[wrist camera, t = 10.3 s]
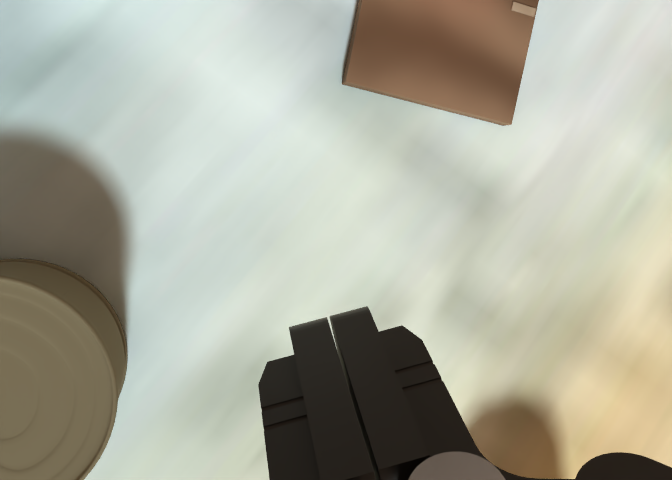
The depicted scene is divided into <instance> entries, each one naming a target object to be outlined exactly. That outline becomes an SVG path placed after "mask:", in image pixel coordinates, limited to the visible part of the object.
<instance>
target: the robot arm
mask: <svg viewBox="0 0 672 480" xmlns="http://www.w3.org/2000/svg"><path fill="white" fill-rule="evenodd" d="M330 321H331V325H332V330H333V334H334V338H335V342H334V339H333V336H332V333H331V329H330V326H329V323H328V320H327V317H326V318H322V319H318V320H314V321H310V322H307V323H303V324H299V325H295V326H292V327H289V330H290V335H291V340H292V345H293V350H294V355H291V356H288V357H284V358H280V359H276V360H273V361H269V362H267V364H266V367H265V369H264V372H263V374H262V377H261V379H260V382H259V384H258V385H259V394H260V402H261V409H262V419H263V427H264V436H265V444H266V452H267V461H268V469H269V478H270V480H672V468H671V467H669V466H666V465H664V464H662V463H659V462H657V461H654V460H652V459H649V458H646V457H644V456H641V455H636V454H632V453H622V452H621V453H608V454H603V455H600V456H597V457H595V458H593V459H591V460H589V461H588V462H587V463H586V464H584V465H583V466H582V468H581V469H580V470H579V472H578V474H577V476H576V478H575V479H535V478H526V477H521V476H517V475H514V474H511V473H508V472H506V471H504V470H502V469H499V468H498V467H496V466H495V465H493V464H492V463H491V462H489V461H488V460H487V459H486V458H485V457H484V456H483V455H482V454H481V453H480V451H479V450H478V448H477V447H476V445H475V443H474V441H473V439H472V437H471V435H470V433H469V431H468V429H467V427H466V425H465V423H464V422H463V420H462V418H461V416H460V414H459V412H458V410H457V408H456V406H455V404H454V402H453V400H452V398H451V396H450V394H449V392H448V390H447V388H446V386H445V384H444V382H442V380H441V376H440V374H439V372H438V370H437V368H436V367H435V365H434V364H433V361H432V359H431V357H430V355H429V353H428V351H427V349H426V347H425V345H424V343H423V341H422V340H421V339H420V338H419V337H417V336H416V335H414V334H413V333H412V332H410V331H409V330H408V329H406V328H405V327H404V326H399V327H395V328H391V329H387V330H384V331H380V332H378V329H377V327H376V325H375V322H374V320H373V317H372V315H371V313H370V310H369V308H368V307H367V306H366V307H363V308H359V309H355V310H351V311H348V312H344V313H340V314H336V315H332V316H330ZM335 343H336V346H335ZM336 347H337V349H336Z"/></svg>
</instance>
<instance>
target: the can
mask: <svg viewBox="0 0 672 480" xmlns="http://www.w3.org/2000/svg"><path fill="white" fill-rule="evenodd" d="M126 370H127V345H126V339H125V335H124V331H123V328H122V326H121V323H120V321H119V319H118V316H117V314H116V313H115V311H114V309H113V308H112V306H111V305H110V303H109V302H108V301H107V299H106V298H105V297H104V296H103V295H102V294H101V293H100V292H99V290H97V289H96V288H95V287H94V286H93V285H92V284H91V283H89V282H88V281H86V280H85V279H84V278H82V277H80V276H79V275H77V274H75V273H74V272H72V271H70V270H67V269H65V268H63V267H60V266H57V265H55V264H51V263H47V262H43V261H38V260H31V259H3V260H0V480H84V479H85V477H86V476H87V475H88V474H89V473H90V471H91V470H92V469H93V467H94V466H95V464H96V463H97V462H98V460H99V459H100V457H101V455H102V453H103V451H104V449H105V448H106V445H107V443H108V440H109V438H110V436H111V432H112V429H113V426H114V422H115V417H116V412H117V403H118V398H119V395H120V392H121V390H122V387H123V383H124V380H125V375H126Z"/></svg>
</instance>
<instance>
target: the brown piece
mask: <svg viewBox="0 0 672 480" xmlns="http://www.w3.org/2000/svg"><path fill="white" fill-rule="evenodd" d="M538 1H539V0H359V2H358V7H357V12H356V17H355V22H354V27H353V32H352V37H351V42H350V46H349V51H348V56H347V61H346V66H345V71H344V76H343V81H342V84H343V85H347V86H351V87H355V88H359V89H363V90H367V91H370V92H374V93H378V94H382V95H386V96H390V97H394V98H398V99H402V100H406V101H409V102H413V103H417V104H421V105H425V106H429V107H433V108H437V109H441V110H445V111H449V112H452V113H456V114H460V115H464V116H468V117H472V118H476V119H480V120H484V121H488V122H491V123H495V124H499V125H503V126H504V125H511V124H512V119H513V115H514V110H515V106H516V101H517V97H518V92H519V88H520V83H521V78H522V74H523V69H524V65H525V60H526V56H527V51H528V47H529V42H530V38H531V33H532V29H533V24H534V19H535V15H536V10H537V6H538Z"/></svg>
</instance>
